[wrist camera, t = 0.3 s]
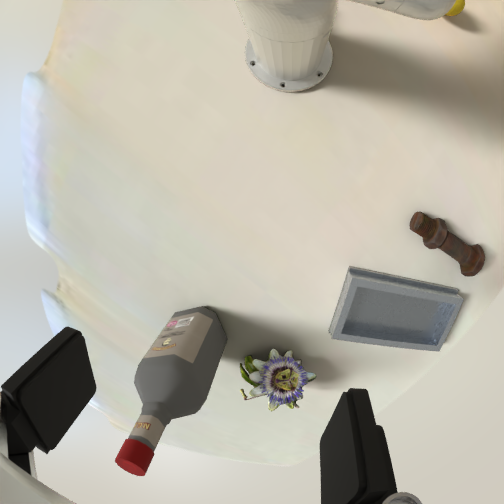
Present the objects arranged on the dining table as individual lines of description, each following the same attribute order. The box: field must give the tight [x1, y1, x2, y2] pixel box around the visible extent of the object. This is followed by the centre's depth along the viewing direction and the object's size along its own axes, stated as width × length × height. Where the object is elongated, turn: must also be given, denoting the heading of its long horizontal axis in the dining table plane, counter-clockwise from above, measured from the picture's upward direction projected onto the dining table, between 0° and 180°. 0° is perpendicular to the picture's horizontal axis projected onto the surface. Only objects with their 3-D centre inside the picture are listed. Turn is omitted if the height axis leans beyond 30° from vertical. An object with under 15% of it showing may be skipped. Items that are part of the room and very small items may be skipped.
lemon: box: [445, 0, 465, 16], centre depth 24 cm, size 6×6×8 cm
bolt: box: [410, 212, 485, 276], centre depth 39 cm, size 6×5×15 cm
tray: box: [329, 266, 464, 351], centre depth 44 cm, size 12×22×3 cm, turn 80°
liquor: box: [115, 306, 227, 476], centre depth 37 cm, size 9×9×30 cm
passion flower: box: [240, 349, 316, 411], centre depth 48 cm, size 11×11×12 cm
